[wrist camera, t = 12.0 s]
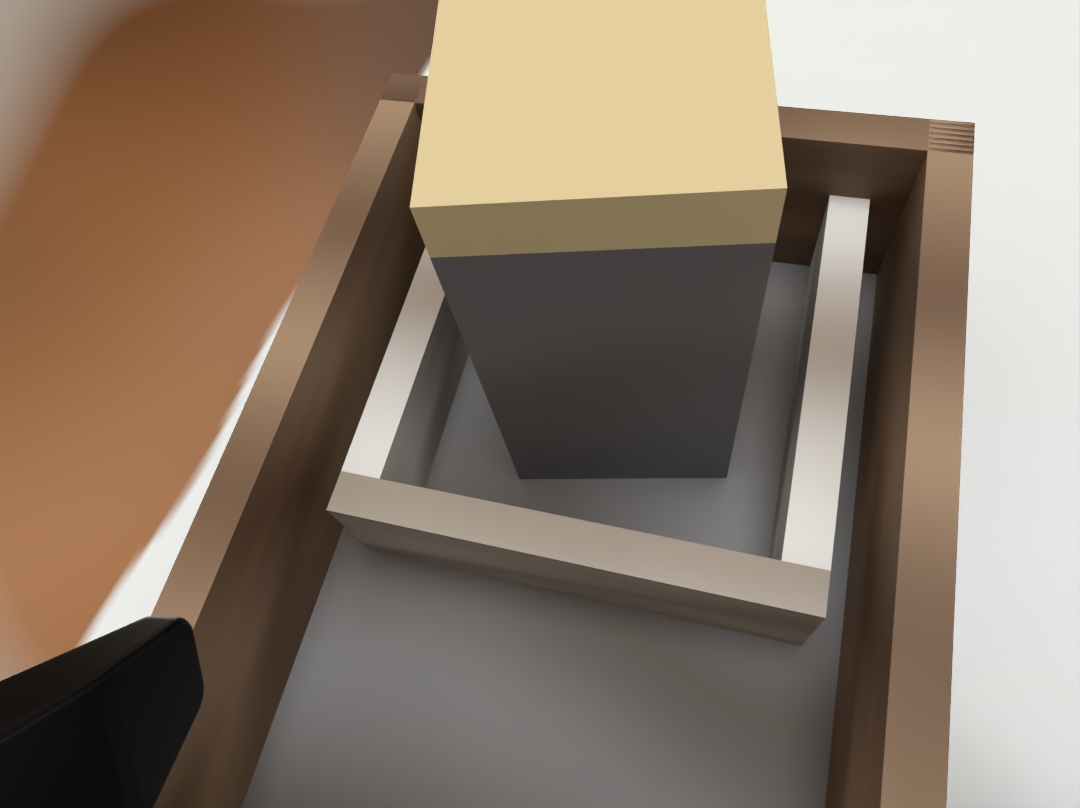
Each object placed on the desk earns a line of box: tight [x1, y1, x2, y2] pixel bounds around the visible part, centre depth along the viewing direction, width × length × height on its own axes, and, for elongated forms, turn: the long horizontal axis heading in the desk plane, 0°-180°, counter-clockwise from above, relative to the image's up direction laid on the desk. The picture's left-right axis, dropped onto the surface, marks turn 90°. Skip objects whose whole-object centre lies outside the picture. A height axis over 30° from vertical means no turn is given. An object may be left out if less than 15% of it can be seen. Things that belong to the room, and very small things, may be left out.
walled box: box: [151, 73, 975, 808], centre depth 15 cm, size 20×12×4 cm, turn 166°
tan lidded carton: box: [410, 0, 787, 479], centre depth 15 cm, size 4×4×9 cm
